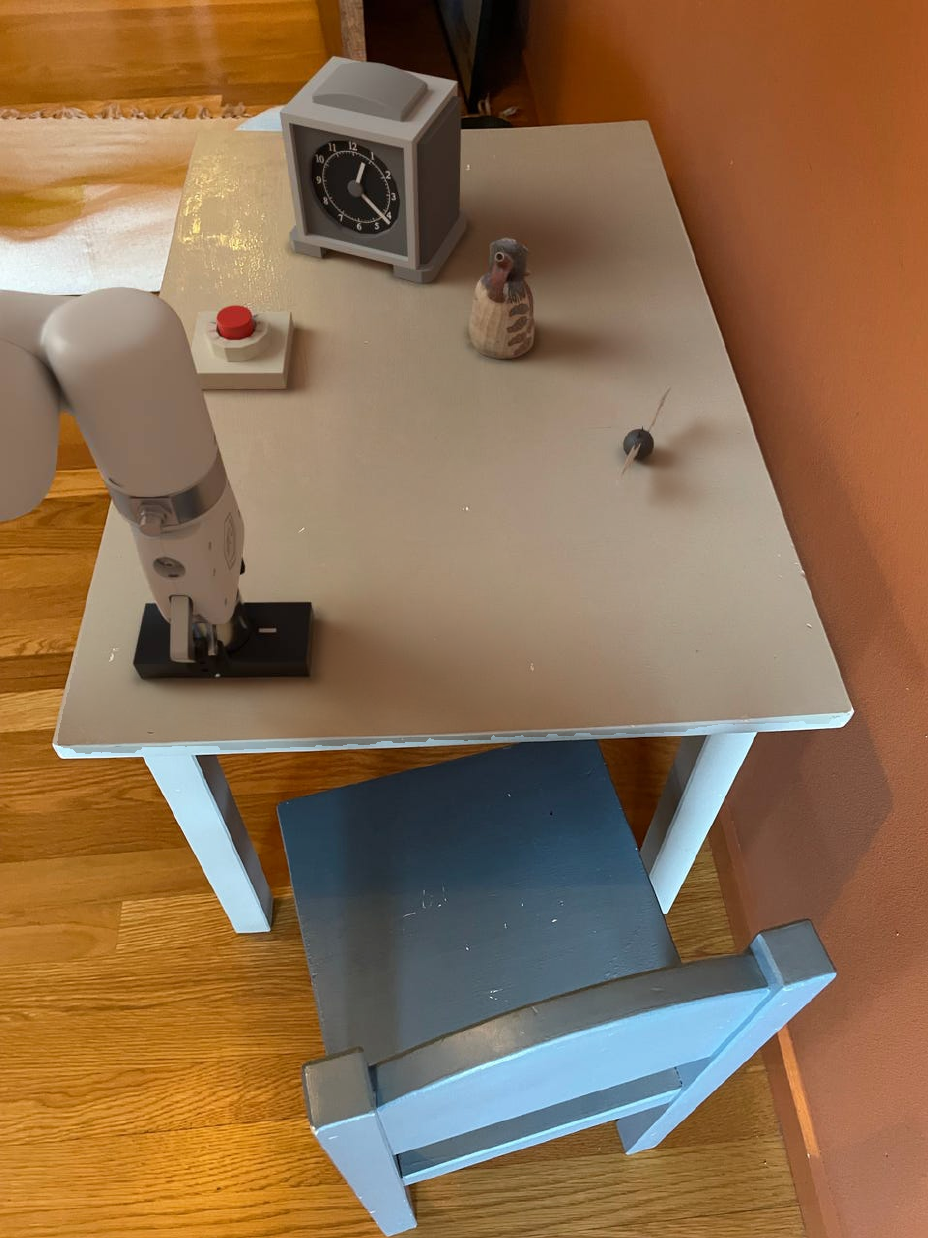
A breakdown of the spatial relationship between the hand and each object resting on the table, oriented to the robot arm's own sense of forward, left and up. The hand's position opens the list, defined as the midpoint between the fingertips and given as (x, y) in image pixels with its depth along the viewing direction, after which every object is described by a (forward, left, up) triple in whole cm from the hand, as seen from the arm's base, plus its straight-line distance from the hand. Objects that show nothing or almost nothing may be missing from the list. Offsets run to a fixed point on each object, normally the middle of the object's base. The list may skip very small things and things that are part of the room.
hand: (219, 619), depth 74 cm
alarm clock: (+11, +59, -4) cm, 60 cm away
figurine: (+25, +40, -4) cm, 47 cm away
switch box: (-3, +37, -4) cm, 37 cm away
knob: (0, 0, -2) cm, 2 cm away
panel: (0, 0, -4) cm, 4 cm away
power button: (-3, +37, -1) cm, 37 cm away
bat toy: (+38, +22, -4) cm, 44 cm away
